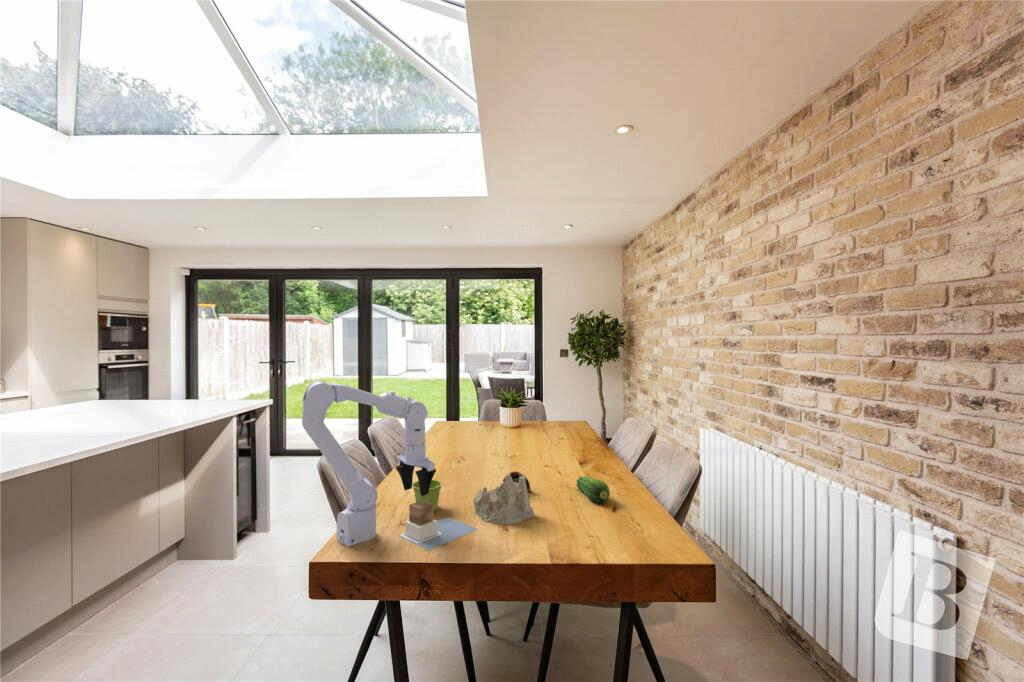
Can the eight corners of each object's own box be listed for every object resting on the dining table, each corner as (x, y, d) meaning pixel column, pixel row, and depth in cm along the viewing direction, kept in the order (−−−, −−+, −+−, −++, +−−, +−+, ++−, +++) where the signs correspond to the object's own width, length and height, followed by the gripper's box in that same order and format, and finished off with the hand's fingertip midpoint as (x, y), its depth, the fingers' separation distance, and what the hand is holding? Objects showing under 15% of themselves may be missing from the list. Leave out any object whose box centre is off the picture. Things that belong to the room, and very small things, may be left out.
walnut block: (419, 526, 114) (419, 508, 114) (409, 521, 117) (409, 504, 117) (433, 520, 117) (433, 504, 117) (422, 516, 120) (422, 500, 120)
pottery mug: (535, 497, 151) (525, 478, 149) (510, 509, 151) (500, 491, 148) (529, 478, 163) (520, 460, 160) (506, 489, 162) (497, 472, 160)
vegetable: (597, 480, 141) (576, 465, 160) (588, 501, 140) (567, 483, 159) (616, 489, 142) (592, 473, 162) (607, 510, 141) (584, 491, 161)
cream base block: (419, 541, 113) (419, 527, 113) (405, 534, 116) (405, 521, 117) (437, 533, 117) (437, 520, 117) (423, 527, 121) (423, 515, 121)
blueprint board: (429, 554, 107) (429, 549, 107) (398, 539, 116) (398, 535, 116) (478, 532, 120) (478, 528, 120) (447, 520, 129) (447, 516, 129)
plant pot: (447, 508, 139) (447, 480, 139) (434, 519, 130) (434, 489, 130) (420, 505, 142) (420, 478, 142) (406, 515, 132) (406, 487, 133)
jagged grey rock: (542, 517, 131) (538, 466, 132) (501, 534, 120) (497, 480, 121) (507, 506, 143) (504, 460, 143) (467, 522, 132) (464, 471, 132)
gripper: (442, 444, 121) (443, 493, 121) (411, 437, 131) (412, 483, 130) (422, 449, 116) (423, 500, 116) (390, 442, 125) (391, 489, 125)
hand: (416, 492), depth 123 cm, fingers open, 7 cm apart
